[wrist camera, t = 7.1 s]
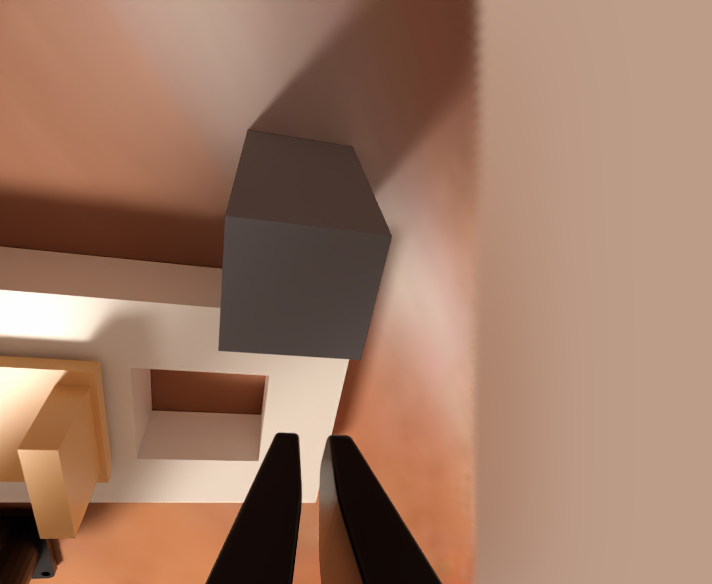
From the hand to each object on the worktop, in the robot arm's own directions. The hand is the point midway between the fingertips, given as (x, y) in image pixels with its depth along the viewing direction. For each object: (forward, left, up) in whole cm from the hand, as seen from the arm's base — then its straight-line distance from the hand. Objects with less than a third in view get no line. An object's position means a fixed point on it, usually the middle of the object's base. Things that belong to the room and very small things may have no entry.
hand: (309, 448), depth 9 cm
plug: (0, 0, -13) cm, 13 cm away
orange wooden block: (-10, +10, -9) cm, 17 cm away
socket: (-10, +6, -13) cm, 17 cm away
